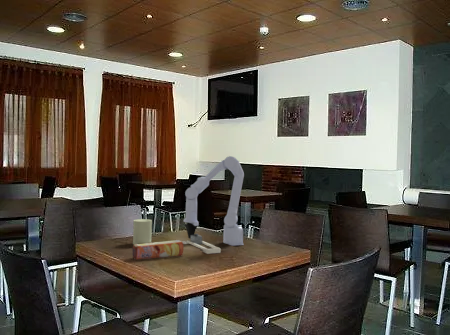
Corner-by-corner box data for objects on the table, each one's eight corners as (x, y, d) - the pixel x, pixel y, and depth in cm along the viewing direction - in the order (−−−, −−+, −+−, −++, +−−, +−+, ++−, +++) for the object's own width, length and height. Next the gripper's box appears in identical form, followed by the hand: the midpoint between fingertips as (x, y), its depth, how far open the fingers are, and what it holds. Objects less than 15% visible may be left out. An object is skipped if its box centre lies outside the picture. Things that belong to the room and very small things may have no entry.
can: (147, 245, 206) (147, 220, 206) (129, 244, 208) (130, 220, 208) (154, 242, 215) (154, 218, 215) (137, 241, 217) (137, 217, 217)
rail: (198, 243, 215) (199, 239, 215) (220, 252, 194) (220, 248, 194) (186, 244, 212) (186, 240, 212) (207, 253, 190) (207, 249, 190)
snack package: (136, 261, 174) (136, 244, 174) (131, 258, 180) (131, 242, 180) (184, 256, 184) (184, 241, 184) (178, 253, 190) (178, 238, 190)
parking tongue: (185, 243, 215) (185, 241, 215) (191, 245, 209) (191, 243, 209) (172, 243, 212) (172, 241, 212) (177, 246, 206) (177, 244, 206)
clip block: (197, 242, 213) (198, 232, 213) (202, 244, 209) (202, 234, 209) (190, 243, 211) (190, 233, 211) (194, 244, 207) (194, 234, 207)
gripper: (178, 210, 220) (178, 236, 221) (189, 213, 208) (188, 241, 208) (191, 209, 224) (190, 235, 224) (202, 212, 211) (202, 240, 211)
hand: (190, 238), depth 216 cm, fingers closed
